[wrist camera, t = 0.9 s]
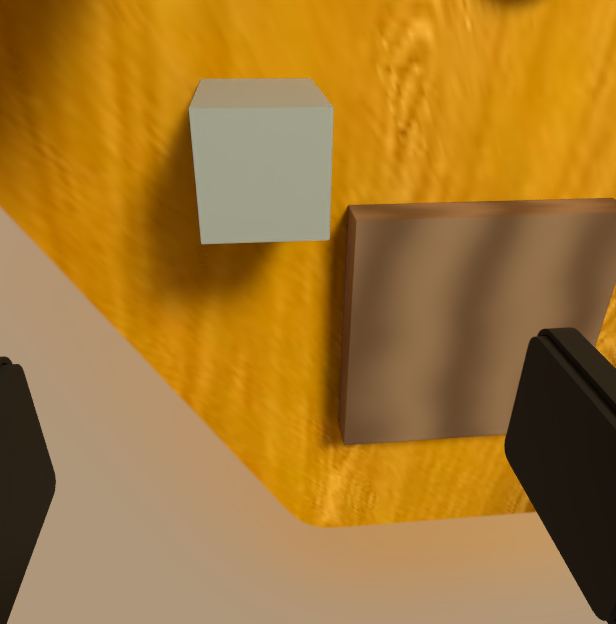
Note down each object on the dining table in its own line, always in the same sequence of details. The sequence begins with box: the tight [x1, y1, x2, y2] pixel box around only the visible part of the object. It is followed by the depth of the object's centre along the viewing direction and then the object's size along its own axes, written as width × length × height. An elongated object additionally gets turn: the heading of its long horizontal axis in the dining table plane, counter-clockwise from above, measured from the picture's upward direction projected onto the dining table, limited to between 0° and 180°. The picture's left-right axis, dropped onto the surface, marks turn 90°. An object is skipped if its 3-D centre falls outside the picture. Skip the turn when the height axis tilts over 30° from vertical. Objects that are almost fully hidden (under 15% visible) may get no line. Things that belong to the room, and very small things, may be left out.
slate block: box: [189, 78, 334, 244], centre depth 26 cm, size 6×6×8 cm
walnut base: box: [338, 198, 616, 445], centre depth 36 cm, size 16×16×2 cm
